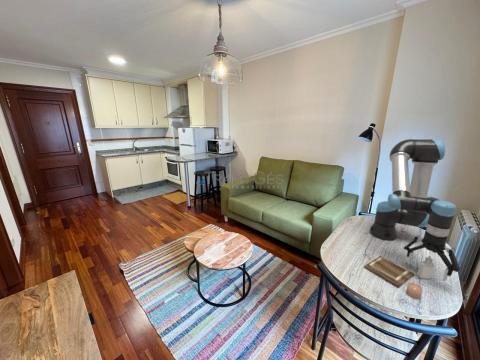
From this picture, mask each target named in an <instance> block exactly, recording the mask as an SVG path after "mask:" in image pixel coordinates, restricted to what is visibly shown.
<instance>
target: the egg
mask: <svg viewBox="0 0 480 360" xmlns="http://www.w3.org/2000/svg"><path fill="white" fill-rule="evenodd" d="M405 293H406V294H407V295H408V296H409V297H410V298H413V299H416V300H417V299H418V300H419V299H421V297H422V293H423V288H422V287H421V286H420V285H419V284H416V283H414V282H408V283H407V286H406V291H405Z"/></svg>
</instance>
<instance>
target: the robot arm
mask: <svg viewBox="0 0 480 360" xmlns="http://www.w3.org/2000/svg"><path fill="white" fill-rule="evenodd" d="M445 154H446V146H445V143H444V142H443V141H442V139H433V138H432V139H425V138H424V139H421V138H420V139H414V138H413V139H412V138H411V139H410V138H409V139H404V140H401V141H399V142H398V143H397V144H395V145H394V146H393V147H392V148H391V150H390V152H389V161H390V162H391V180H392V181H391V183H392V184H391V185H392V189H391V190H392V193H391V194H388V197H387V201H385V200H384V201H380V202H378V203H377V205H376V209H375V210H376V211H375V217H374V222H373V223H372V225H371V226H370V228H369V233H370V234H371V236H373V237H374V238H377V239H380V240H384V241H395V240H396V239H397V238H398V237H397V236H398V234H397V229H396V225H398V224H399V225H405V226H409V227H410V226H411V227H415V228H425V231H424V234H423V235H424V236H423V237H421V236H420V235H417V234H416V235H415V236H414V238H413V239H412V241H410V242H409V243H408V244H406V245H405V246H403V249H404V250H406V251H407V253H406V257H407V264H408V265H410V264H411V263H412V261H413V258H414V257H413V256H414V253H415V251H418V250H420V249H421V250H422V249H426V250H427V251H430V252H432V253H437V255H438V256H439V258H440V259H441V261H443V263H444V265H445V266H446V268H445V269H444V270H445V271H444V272H443V273H444V274H443V277H442V282H444V283H445V282H446V281H447V279H448V277H451V276H453V273H454V272H456V273H458V272H460V271H461V267H460V265H459V263H458V259H457V257H456V254H455V248H453V247H452V248H451V247H446V246H447V245H446V244H447V240H448V236H449V234H450V231H451V230H450V229H451V226H452V223H453V219H454V217H455V215H456V209H457V206H456V205H455V204H454V203H452V202H451V201H446V200H441V199H439V198H438V197H435V196H432V195H431V196H430V195H429V196H428V194H429V189H430V184H431V179H432V175H433V170H434V166H436V165H438V163H439V161H442V160H443V159H444V157H445ZM410 159H411V163H412V164H413V170H412V174H411V180H410V171H409V160H410ZM420 241H421V243H422V244H419V245H416V246H414V247H412V246H413V245H414V244H415V243H417V242H420ZM445 251H446V253H447V254H448V256H447V255H446V254H445Z"/></svg>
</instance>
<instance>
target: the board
mask: <svg viewBox="0 0 480 360" xmlns="http://www.w3.org/2000/svg"><path fill="white" fill-rule="evenodd" d="M363 269H365V270H367V271H369V272H370V273H372V274H374V275H375V276H377V277H379V278H381V279H382V280H383V281H385V282H387V283H389V284H390V285H392V286H394V287H396V288H397V289H399V288H400V287H402V286H403V285H404V284H405V283H406V282H408V281H409V280H411V278H413V277H414V276H415V272H413V271H411V270H410V269H408V268H405V267H404V266H402V265H400V264H398V263H396V262H394V261H393V260H391V259H388V258H387V257H384V256H383V255H379V256H378V257H376V258H374V259H372V260H371V261H370V262H367V263H366V264H365V265H364V266H363Z"/></svg>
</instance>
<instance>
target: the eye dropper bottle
mask: <svg viewBox="0 0 480 360" xmlns="http://www.w3.org/2000/svg"><path fill="white" fill-rule="evenodd" d="M435 268H436V267H435V264H434V263H433V259H432V256H430V255H429V256H428V257H425V259H424V261H422V262H420V264H419V267H418V270H417V276H418V277H419V278H420V279H423V280H430V279H432V278H433V275H434V271H435Z"/></svg>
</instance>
